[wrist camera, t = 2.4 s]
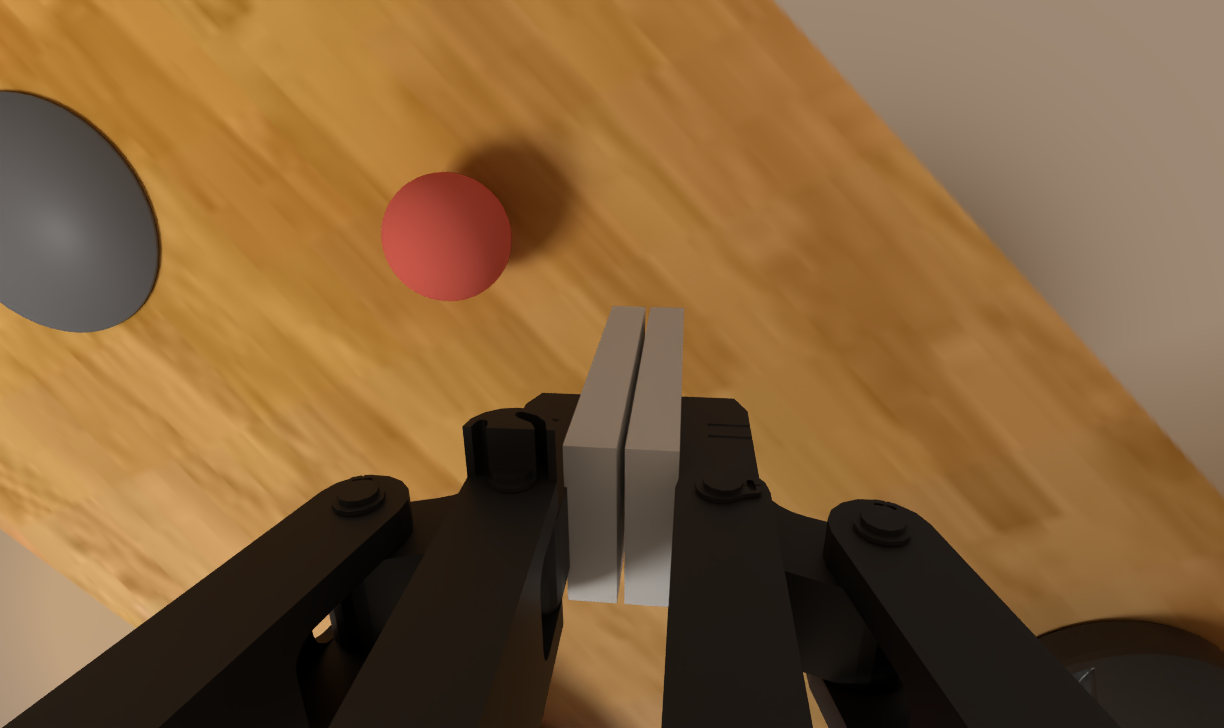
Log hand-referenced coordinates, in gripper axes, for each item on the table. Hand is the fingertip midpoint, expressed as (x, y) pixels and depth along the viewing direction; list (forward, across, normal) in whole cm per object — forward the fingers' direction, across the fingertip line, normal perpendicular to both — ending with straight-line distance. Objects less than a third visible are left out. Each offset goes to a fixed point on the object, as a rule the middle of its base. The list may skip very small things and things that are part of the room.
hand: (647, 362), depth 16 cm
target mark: (+16, +32, 0) cm, 36 cm away
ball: (+14, +10, 0) cm, 17 cm away
